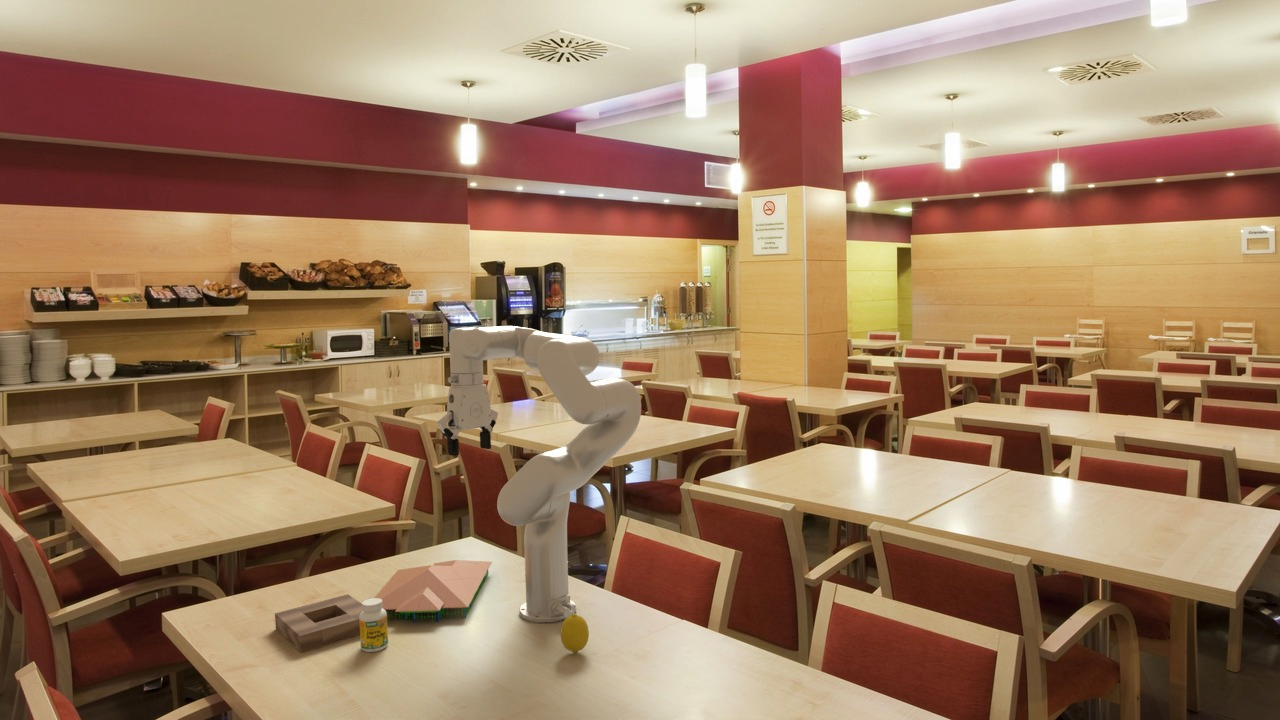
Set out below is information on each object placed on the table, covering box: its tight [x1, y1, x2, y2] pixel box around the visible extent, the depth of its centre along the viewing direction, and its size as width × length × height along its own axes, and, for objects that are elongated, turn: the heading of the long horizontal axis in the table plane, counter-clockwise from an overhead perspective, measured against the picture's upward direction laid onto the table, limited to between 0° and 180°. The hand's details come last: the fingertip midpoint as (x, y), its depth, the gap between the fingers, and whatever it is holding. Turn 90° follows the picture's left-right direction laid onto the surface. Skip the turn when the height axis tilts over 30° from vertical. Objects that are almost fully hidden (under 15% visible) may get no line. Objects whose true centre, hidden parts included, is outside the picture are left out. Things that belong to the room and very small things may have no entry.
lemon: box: [560, 613, 590, 654], centre depth 158 cm, size 6×6×8 cm
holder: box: [274, 593, 363, 653], centre depth 172 cm, size 16×16×4 cm
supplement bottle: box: [359, 597, 389, 653], centre depth 162 cm, size 5×5×10 cm
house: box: [373, 559, 492, 624], centre depth 189 cm, size 23×33×8 cm
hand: (470, 451), depth 189 cm, fingers open, 9 cm apart
